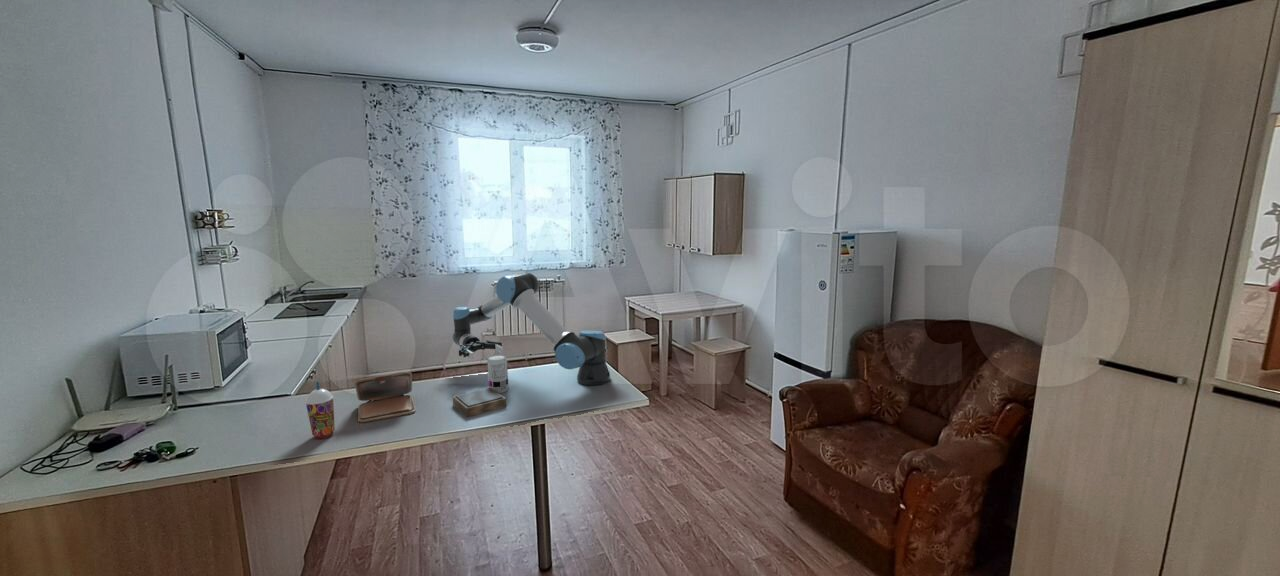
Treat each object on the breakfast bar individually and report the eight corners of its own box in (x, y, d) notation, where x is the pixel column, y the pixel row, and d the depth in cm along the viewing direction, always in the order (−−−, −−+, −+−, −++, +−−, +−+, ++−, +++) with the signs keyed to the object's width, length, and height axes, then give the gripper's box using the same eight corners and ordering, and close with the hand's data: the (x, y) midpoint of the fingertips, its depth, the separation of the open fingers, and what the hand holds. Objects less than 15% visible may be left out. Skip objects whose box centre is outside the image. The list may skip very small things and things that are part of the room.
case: (413, 396, 217) (409, 360, 214) (416, 413, 198) (412, 374, 196) (358, 406, 207) (354, 368, 205) (357, 425, 189) (352, 384, 186)
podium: (490, 395, 216) (490, 386, 215) (506, 406, 204) (505, 397, 203) (453, 404, 206) (452, 395, 206) (467, 417, 194) (466, 407, 193)
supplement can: (485, 392, 219) (483, 359, 217) (497, 386, 227) (495, 354, 224) (500, 395, 216) (498, 361, 214) (512, 388, 224) (510, 355, 221)
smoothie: (317, 442, 174) (310, 387, 171) (305, 437, 179) (298, 383, 175) (342, 433, 181) (336, 380, 178) (330, 428, 186) (323, 376, 182)
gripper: (495, 345, 251) (513, 355, 235) (444, 355, 236) (460, 366, 220) (494, 331, 250) (513, 340, 234) (443, 339, 235) (459, 350, 218)
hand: (487, 353), depth 227 cm, fingers open, 13 cm apart
